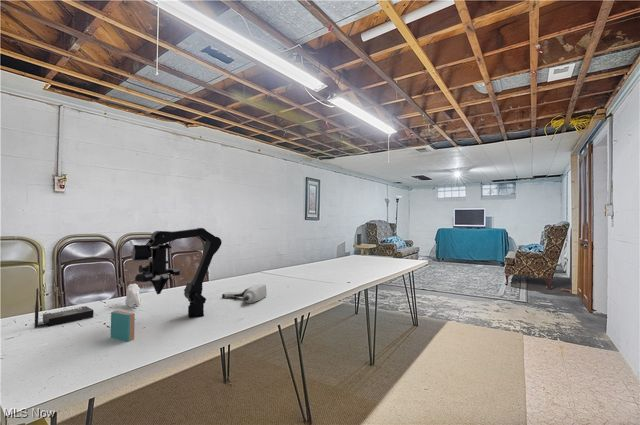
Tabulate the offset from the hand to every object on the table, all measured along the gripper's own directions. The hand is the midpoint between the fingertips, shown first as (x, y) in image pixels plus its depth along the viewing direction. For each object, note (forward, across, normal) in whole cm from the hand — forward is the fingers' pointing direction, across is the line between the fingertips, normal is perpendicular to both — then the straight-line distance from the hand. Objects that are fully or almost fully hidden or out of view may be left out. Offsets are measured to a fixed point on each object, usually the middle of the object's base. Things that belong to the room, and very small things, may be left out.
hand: (158, 294), depth 135 cm
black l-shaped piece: (+14, +14, -42) cm, 47 cm away
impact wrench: (+14, -47, +9) cm, 50 cm away
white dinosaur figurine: (+13, -14, -34) cm, 39 cm away
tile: (+13, +18, +2) cm, 22 cm away
